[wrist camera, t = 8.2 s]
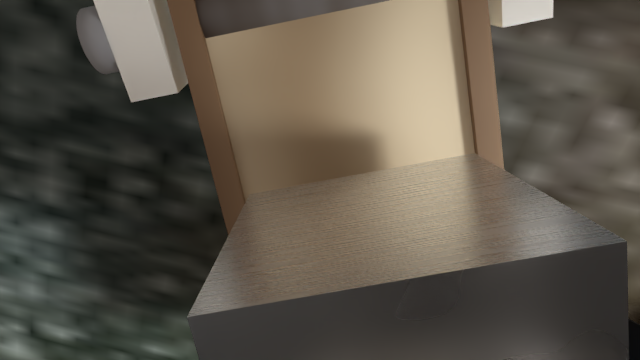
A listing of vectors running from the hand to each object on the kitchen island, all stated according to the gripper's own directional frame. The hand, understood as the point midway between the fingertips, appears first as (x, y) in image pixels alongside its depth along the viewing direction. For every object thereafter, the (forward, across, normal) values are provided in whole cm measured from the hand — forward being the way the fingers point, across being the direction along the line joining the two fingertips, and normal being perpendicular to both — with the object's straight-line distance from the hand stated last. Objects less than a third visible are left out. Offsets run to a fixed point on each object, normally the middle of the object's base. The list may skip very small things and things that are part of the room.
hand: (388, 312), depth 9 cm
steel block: (+2, 0, 0) cm, 2 cm away
